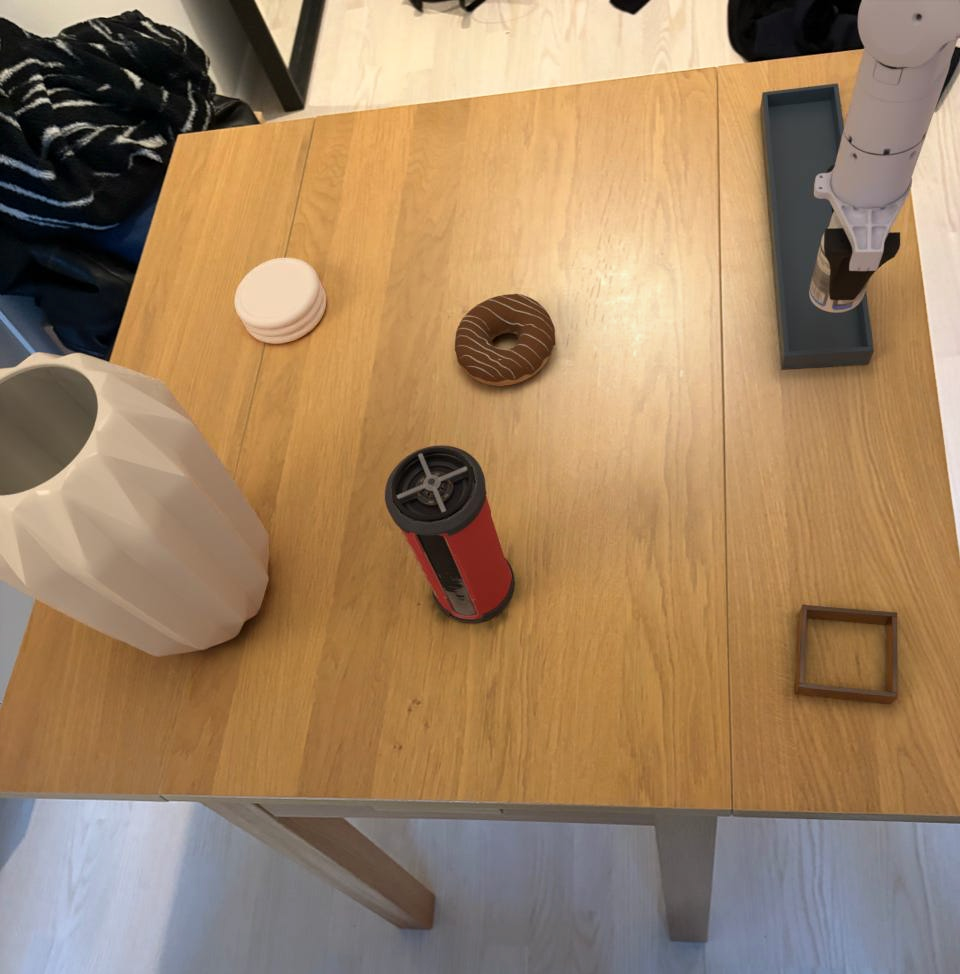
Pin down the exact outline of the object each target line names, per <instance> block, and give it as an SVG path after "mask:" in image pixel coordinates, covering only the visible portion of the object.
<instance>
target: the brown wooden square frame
mask: <svg viewBox="0 0 960 974" xmlns="http://www.w3.org/2000/svg"><path fill="white" fill-rule="evenodd" d="M797 617H798V618H797V641H796V663H795V664H796V665H795V668H796V669H795V685H794V687H795V691H794V694H795V695H800V696H809V697H810V696H811V697H819V698H820V697H821V698H829V699H838V700H848V701H858V702H867V703H875V704H885V705H892V704H893V703H894V702H895V701H896V700H897V699H898V698H899V691H898V690H899V687H898V680H899V679H898V675H899V673H898V672H899V671H898V670H899V669H898V665H899V664H898V612H896V611H884V610H872V609H860V608H859V609H858V608H846V607H836V606H835V607H834V606H821V605H812V604H811V605H810V604H802V605H801V607H800V610H799V611H798V615H797ZM807 619H815V620H827V621H839V622H849V623H862V624H873V625H885V652H886V653H885V691H884V690H883V691H882V690H874V689H872V690H871V689H863V688H853V687H842V686H833V685H823V684H816V683H815V684H814V683H805V678H806V677H805V676H806V675H805V674H806V668H805V667H806V648H807V647H806V646H807V622H808V621H807Z"/></svg>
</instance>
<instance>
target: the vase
mask: <svg viewBox="0 0 960 974" xmlns="http://www.w3.org/2000/svg"><path fill="white" fill-rule="evenodd" d="M269 557H270V533H269V532H268V531H267V529H266V527H265V525H264V524H263V522H262V521H261V519H260V517H259V516H258V514H257V512H256V511H255V509H254V508H253V506H252V505H251V503H250V502H249V500H248V499H247V497H246V496H245V495H244V493H243V492H242V489H240V487H239V485H238V484H237V483H236V481H235V479H234V478H233V477H232V475H231V473H230V472H229V471H228V469H227V468H226V466H225V465H224V463H223V462H222V460H221V459H220V457H219V456H218V454H217V453H216V452H215V450H214V449H213V448H212V446H211V445H210V443H209V442H208V440H207V439H206V438H205V436H204V435H203V433H202V432H201V430H200V428H199V427H198V425H197V424H196V423H195V422H194V420H193V419H192V417H191V416H190V414H189V413H188V411H187V410H186V409H185V408H184V405H182V404H181V402H180V401H179V399H178V398H177V397H176V395H175V393H174V392H173V391H172V390H171V389H170V387H169V386H168V385H167V384H166V383H165V382H164V381H163V380H161V379H158V378H156V377H153V376H151V375H147V374H145V373H143V372H139V371H136V370H133V369H130V368H128V367H125V366H121V365H119V364H116V363H113V362H110V361H107V360H104V359H101V358H98V357H95V356H93V355H90V354H89V355H88V354H85V353H82V352H74V353H69V354H66V355H61V354H55V353H49V352H41V351H36V352H34V353H32V354H30V355H29V356H27V357H26V358H25V359H24V360H22V361H21V362H20V363H19V364H17V365H16V366H13V367H3V368H0V581H2V582H3V583H5V584H7V585H8V586H10V587H12V588H14V589H15V590H17V591H19V592H21V593H23V594H25V595H26V596H29V597H31V598H33V599H34V600H37V601H38V602H40V603H42V604H44V605H46V606H48V607H50V608H52V609H53V610H55V611H57V612H59V613H60V614H63V615H65V616H66V617H69V618H71V619H72V620H74V621H77V622H78V623H81V624H83V625H84V626H86V627H89V628H91V629H93V630H94V631H96V632H99V633H101V634H103V635H106V636H107V637H110V638H112V639H113V640H116V641H120V642H123V643H126V644H127V645H129V646H131V647H134V648H136V649H139V650H140V651H142V652H145V653H146V654H148V655H151V656H152V657H156V658H158V657H160V658H161V657H167V656H173V655H180V654H181V655H182V654H187V653H192V652H200V651H206V650H208V649H210V648H212V647H215V646H218V645H220V644H222V643H226V642H228V641H231V640H232V639H235V638H237V637H238V635H239V634H240V632H241V630H242V628H243V627H244V624H245V622H247V621H249V620H250V619H252V618H254V617H256V616H257V615H258V613H259V611H260V609H261V607H262V603H263V600H264V597H265V593H266V590H267V587H268V583H269V581H270V578H269V574H268V573H269Z"/></svg>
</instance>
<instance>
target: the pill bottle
mask: <svg viewBox="0 0 960 974" xmlns="http://www.w3.org/2000/svg"><path fill="white" fill-rule="evenodd" d="M828 228H843V227H842V225H841V223H840V221H839V219H838V217H837V215H836V213H835V211H834V212H833V214H832V218H831V221H830V225H829V227H828ZM829 281H830V265H829V262H828V260H827V258H826V256H825V252H824V234H823V236H822V239H821V243H820V247H819V252H818V256H817V260H816V264H815V268H814V272H813V277H812V281H811V285H810V290H809V295H810V299H811V301H812V302H813V304H814V305H815V306H817V307H818V308H820V309H822V310H824V311H828V312H835V313H839V312H845V311H848V310H851V309H853V308H854V307H856V306H857V305H858V304H859V303H860V302H861V300H862V299H863V297H864V294H865V291H866V292H867V288H868V284H869V281H870V279H869V280H868V281H867V283H866V284H865V286H864V287H863V289H862V290H861V292H860V293H859V294H858V296H857V297H856V298H855V299H854V300H831V299H830V296H829Z"/></svg>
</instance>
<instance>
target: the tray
mask: <svg viewBox="0 0 960 974" xmlns="http://www.w3.org/2000/svg"><path fill="white" fill-rule="evenodd" d="M841 102H842V101H841V94H840V88H839V83H838V82H837V83H828V84H821V85H812V86H804V87H795V88H787V89H779V90H771V91H763V92H762V93H761V99H760V105H759V106H760V107H759V114H760V127H761V137H762V139H761V140H762V151H763V161H764V174H765V187H766V200H767V211H768V212H767V213H768V224H769V237H770V248H771V249H770V250H771V259H772V271H773V273H772V274H773V285H774V286H773V287H774V298H775V308H776V311H775V312H776V321H777V322H776V323H777V333H778V335H777V336H778V345H779V359H780V369H781V370H796V369H816V368H830V367H846V366H847V367H849V366H863V365H869V364H870V362H871V359H872V356H873V354H874V351H875V347H874V340H873V333H872V326H871V325H872V324H871V319H870V310H869V303H868V302H869V301H868V295H867V294H868V293H867V290H866V291H865V294H864V297H863V299H862V300H861V302H860V303H859V304H858V305H857V306H856V307H854V308H853V309H851V310H848V311H845V312H839V313H835V312H828V311H824V310H822V309H820V308H818V307H817V306H815V305H814V304H813V302H812V301H811V299H810V295H809V290H810V285H811V281H812V277H813V272H814V268H815V264H816V260H817V256H818V252H819V247H820V243H821V239H822V236H823V234H824V232H825V229H826V228H828V227H829V225H830V221H831V218H832V207H831V203H830V201H829V200H828V199H819V198H816V197H815V196H814V183H815V179H816V176H817V175H818V174H821V173H826V172H827V170H828V168H829V167H831V166H832V165H835V163H836V158H837V154H838V150H839V146H840V142H841V138H842V134H843V130H844V126H845V123H844V117H843V110H842V103H841Z"/></svg>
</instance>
